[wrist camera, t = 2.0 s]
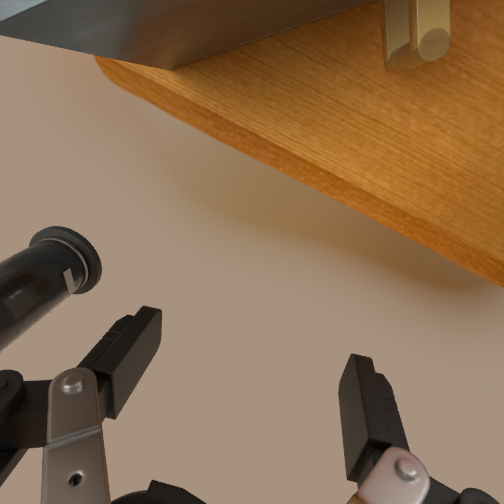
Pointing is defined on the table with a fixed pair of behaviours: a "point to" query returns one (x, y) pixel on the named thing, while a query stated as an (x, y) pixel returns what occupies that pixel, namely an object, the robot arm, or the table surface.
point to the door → (213, 27)
